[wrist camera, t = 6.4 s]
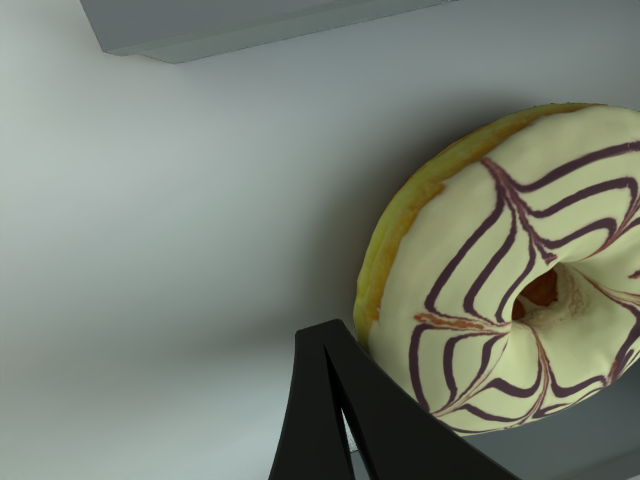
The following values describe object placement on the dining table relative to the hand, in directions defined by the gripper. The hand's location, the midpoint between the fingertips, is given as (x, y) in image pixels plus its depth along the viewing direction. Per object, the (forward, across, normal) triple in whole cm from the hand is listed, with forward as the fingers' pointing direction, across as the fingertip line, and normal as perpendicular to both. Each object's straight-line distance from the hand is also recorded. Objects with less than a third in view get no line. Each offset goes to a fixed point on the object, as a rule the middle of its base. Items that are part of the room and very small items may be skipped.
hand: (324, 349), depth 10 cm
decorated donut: (+2, -6, 0) cm, 7 cm away
